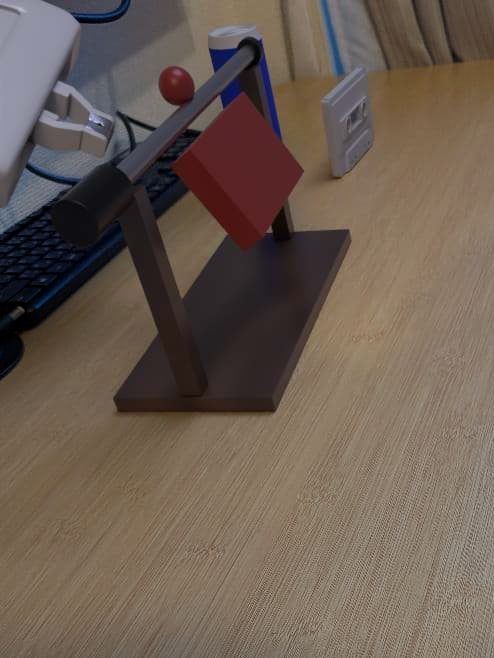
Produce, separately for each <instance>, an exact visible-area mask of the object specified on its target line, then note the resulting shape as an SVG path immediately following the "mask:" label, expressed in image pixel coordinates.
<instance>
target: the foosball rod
mask: <svg viewBox="0 0 494 658" xmlns="http://www.w3.org/2000/svg"><path fill="white" fill-rule="evenodd" d="M262 58H263V48H262V45H261V43H260V42H259V41H258V40H257V39H256V38H254V37H250V36H249V37H245V38H243V39H242V40H241V41H240V42H239V44H238V46H237V53H236V54H235V55H234V56H233V57H232V58H231V59H230V60H228V61H227V62H226V63H225V64H224V65H223V66H222V67H221V68H220V69H219V70H218V71H217V72H216V73H213V75H211V76H210V78H208V79H207V80H206V81H205V82H204V83H203V84H202V85H201V86H200V87H199V88H198V89H196V87H195V82H194V79H193V77H192V75H191V74H190V73H189V72H188V71H187V70H186V69H184V68H183V67H181V66H177V65H171V66H168V67H166V68H164V69H163V70H162V71H161V73H160V75H159V77H158V85H157V86H158V90H159V94H160V95H161V97H162V98H163V99H164V100H165V101H166V103H168V104H170V105H171V106H175V107H178V108H177V109H175V110H174V111H173V112H172V114H170V115H169V116H168V117H167V118H166V119H165V120H164V121H163V122H162V123H161V124H160V125H158V127H157V128H155V130H153V131H152V132H151V133H150V134H149V135H148V136H147V137H146V138H145V139H144V140H143V141H142V142H141V143H139V145H138V146H136V147H135V148H134V150H132V151H131V152H130V153H129V154H128V155H127V156H126V157H125V158H123V160H122V161H121V162H120V163H119V164H117V166H115V165H113V164H108V163H102V164H98V165H96V166H95V167H93V169H92V170H90V171H89V172H88V173H87V174H86V175H85V176H84V177H82V178H81V180H79V181H78V182H77V183H76V184H74V186H73V187H71V188H70V189H69V190H68V191H67V192H66V193H65V194H64V195H63V196H61V197H60V198H59V199H58V200H57V201H56V202H54V204H53V206H52V207H51V212H50V220H51V223H52V227H53V228H54V230H55V232H56V233H57V234H58V235H59V236H60V238H61V239H63V240H64V241H65V242H66V243H68V244H70V245H71V246H74V247H77V248H88V247H91V246H94V245H95V244H96V243H97V242H98V241H99V239H100V238H101V237H102V236H104V234H105V233H106V232H107V231H108V230H109V229H110V227H112V226H113V224H114V223H116V221H118V218H119V217H120V216H121V215H122V214H123V213H124V212H125V210H126V209H127V208H128V207H129V206H130V205H131V204H132V202H133V199H134V188H133V186H134V185H133V184H134V183H135V182H136V181H137V179H139V178H140V177H141V176H142V175H143V174H144V172H146V170H147V169H149V167H151V165H153V163H154V162H155V161H156V160H157V159H159V157H161V155H162V154H163V153H164V152H165V151H166V150H167V149H168V148H169V147H171V145H172V144H173V143H174V142H175V141H176V140H177V139H178V138H179V137H180V136H181V135H182V134H183V133H184V132H185V131H186V130H187V129H188V128H189V127H190V126H191V125H192V124H193V123H194V122H195V121H196V120H197V119H198V118H199V116H201V115H202V113H203V112H205V110H206V109H207V108H208V107H209V106H211V104H212V103H213V102H214V101H215V100H216V99H217V98H218V97H220V94H221V93H222V92H223V91H224V90H225V89H226V88H227V87H228V86H229V85H230V84H231V83H232V82H233V81H234V80H235V79H236V78H237V77H238V76H239V75H240V74H241V73H242V71H243V70H244V69H245V68H246V67H247V66H248V65H253V64H258V63H259V62H260V61H261V60H262ZM282 141H283V140H282ZM282 141H281V140H280V138H279V137H278V136H277V134H276V133H275V132H274V130H273V129H272V128H271V127H270V125H269V124H268V123H267V121H266V120H265V119H264V117H263V116H262V115H261V113H260V112H259V111H258V110H257V108H256V107H255V106H254V104H253V103H252V102H251V100H250V99H249V98H248V97H247V95H246V94H245V93H244V92H242V93H241V94H240V95H238V96H237V97H236V98H235V99H234V100H233V101H232V102H231V103H230V104H228V105H227V106H226V107H225V108H224V109H223V108H222V110H221V111H220V112H219V113H218V114H217V116H216V117H214V119H213V120H211V122H210V123H209V124H208V125H207V127H205V128H204V129H203V131H202V132H201V133H200V134H199V135H198V136H197V137H196V138H195V139H194V140H193V141H192V142H191V143H190V145H189V146H187V148H186V149H185V150H184V151H183V152H182V153H181V154H180V155H179V156H178V157H177V158H176V159H175V161H174V162H173V163H172V164H171V165H170V168H171V170H172V171H173V172H174V173H175V174H176V175H177V177H178V178H179V179H180V180H181V181H182V182H183V183H184V185H185V186H186V187H187V188H188V189H189V190H190V192H191V193H192V194H193V196H195V198H196V199H197V200H198V201H199V202H200V203H201V205H203V207H204V208H205V209H206V210H207V211H208V213H209V214H210V215H211V216H212V217H213V218H214V219H215V221H216V222H217V223H218V225H219V226H221V228H222V229H223V230H224V232H226V234H227V235H229V236H230V237H231V238H232V239H233V240H234V242H235V243H236V244H237V245H238V246H239V247H240V248H241V250H242V251H243V252H245V251H246V250H247V249H249V248H250V247H251V246H253V245H254V244H255V243H257V242H258V241H259V240H261V239H262V238H263V237H264V235H265V234H266V233H268V231H269V229H270V228H271V224H272V223H273V221H274V219H275V218H276V216H277V215H278V213H279V211H280V210H281V208H282V207H283V205H284V203H285V202H286V200H287V199H288V200H289V197H290V196H291V193H292V192H293V190H294V189H295V187H296V186H297V184H298V182H299V181H300V179H301V178H302V176H303V174H304V173H305V170H304V168H303V167H302V166H301V164H300V162H299V161H297V159H296V158H295V156H294V155H293V154H292V152H291V151H290V150H289V149H288V148H287V146H286V144H285V143H284V142H282Z"/></svg>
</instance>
